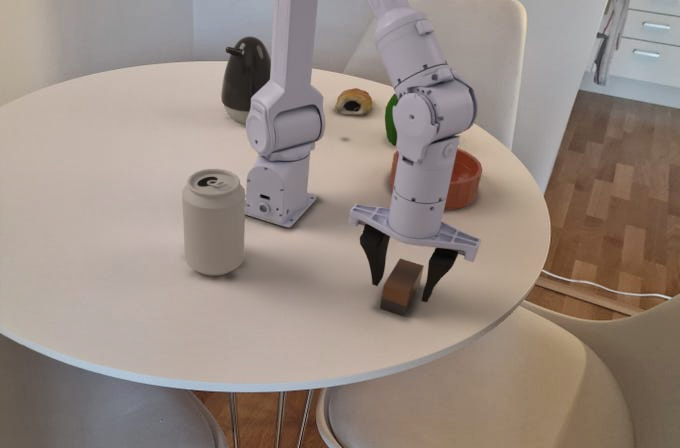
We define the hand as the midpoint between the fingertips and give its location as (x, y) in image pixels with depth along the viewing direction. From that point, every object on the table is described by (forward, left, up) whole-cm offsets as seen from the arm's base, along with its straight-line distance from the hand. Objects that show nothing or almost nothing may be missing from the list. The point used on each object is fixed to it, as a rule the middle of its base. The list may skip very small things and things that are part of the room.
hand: (401, 288), depth 77 cm
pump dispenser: (+36, +41, -2) cm, 55 cm away
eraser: (0, 0, -1) cm, 1 cm away
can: (-5, +23, -2) cm, 24 cm away
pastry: (+51, +26, -2) cm, 57 cm away
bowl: (+28, +4, -1) cm, 29 cm away
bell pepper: (+42, +13, -2) cm, 44 cm away
